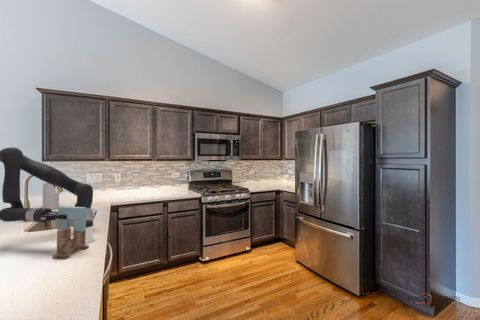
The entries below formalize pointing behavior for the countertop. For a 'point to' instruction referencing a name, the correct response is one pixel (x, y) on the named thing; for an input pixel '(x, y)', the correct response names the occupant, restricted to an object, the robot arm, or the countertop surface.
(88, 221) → the jar
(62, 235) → the brown wooden u-shaped piece
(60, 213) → the teal rectangular panel
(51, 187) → the cylinder vase
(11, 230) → the countertop surface
